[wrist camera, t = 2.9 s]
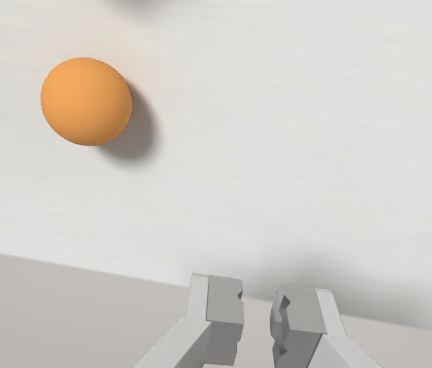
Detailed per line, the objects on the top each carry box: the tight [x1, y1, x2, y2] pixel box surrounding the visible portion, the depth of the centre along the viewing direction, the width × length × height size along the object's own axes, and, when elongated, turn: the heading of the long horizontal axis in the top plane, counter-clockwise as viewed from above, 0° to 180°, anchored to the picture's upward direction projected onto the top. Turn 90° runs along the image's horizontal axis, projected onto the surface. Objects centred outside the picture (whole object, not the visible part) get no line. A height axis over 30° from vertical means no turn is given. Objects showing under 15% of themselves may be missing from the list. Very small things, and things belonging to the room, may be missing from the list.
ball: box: [41, 58, 132, 146], centre depth 23 cm, size 6×6×6 cm
